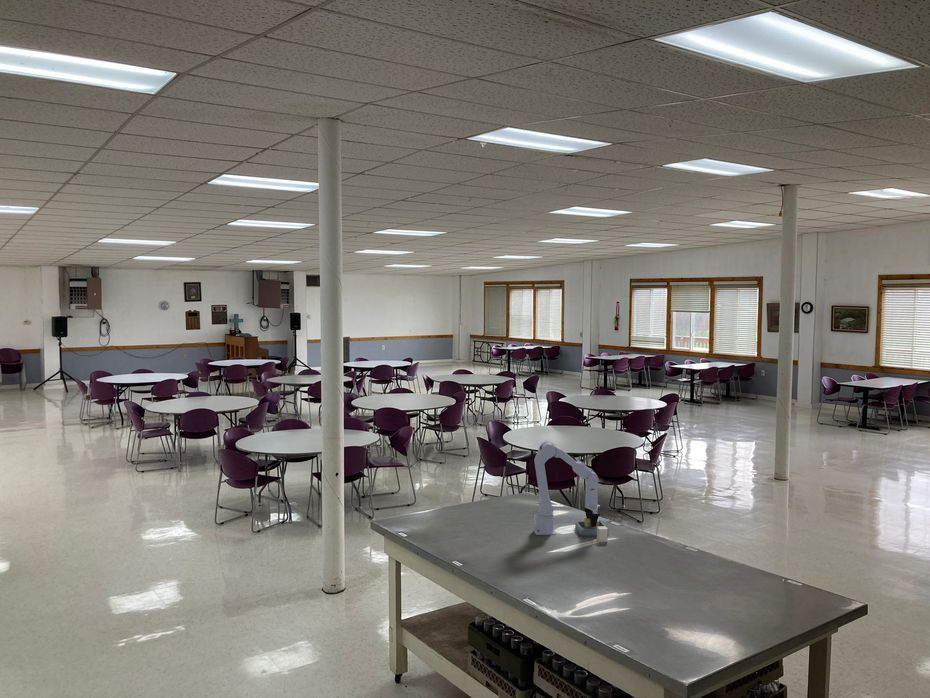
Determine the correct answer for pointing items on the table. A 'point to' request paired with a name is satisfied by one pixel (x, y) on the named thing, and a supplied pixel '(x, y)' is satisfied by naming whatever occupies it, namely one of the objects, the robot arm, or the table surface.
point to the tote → (586, 532)
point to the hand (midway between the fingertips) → (591, 524)
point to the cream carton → (602, 534)
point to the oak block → (589, 524)
